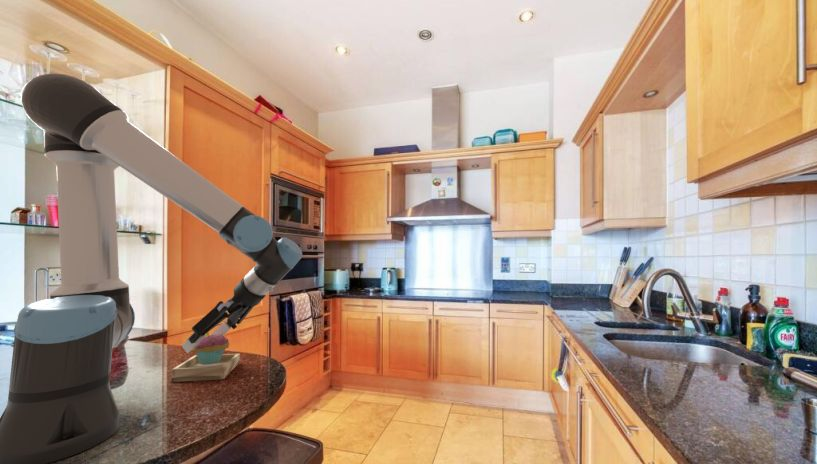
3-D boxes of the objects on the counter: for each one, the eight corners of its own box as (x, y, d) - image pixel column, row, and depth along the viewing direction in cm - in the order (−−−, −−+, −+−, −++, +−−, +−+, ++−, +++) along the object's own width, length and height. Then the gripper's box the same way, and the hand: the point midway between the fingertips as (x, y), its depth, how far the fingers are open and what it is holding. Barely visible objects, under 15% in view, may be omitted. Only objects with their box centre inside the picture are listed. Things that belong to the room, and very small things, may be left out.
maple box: (223, 379, 81) (224, 367, 82) (170, 381, 79) (171, 369, 80) (239, 364, 93) (240, 353, 94) (194, 366, 91) (194, 355, 91)
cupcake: (201, 368, 81) (205, 320, 82) (184, 363, 85) (188, 317, 87) (234, 360, 88) (237, 316, 90) (217, 356, 93) (220, 313, 94)
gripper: (236, 301, 75) (172, 368, 77) (285, 292, 96) (234, 345, 97) (217, 278, 77) (155, 344, 78) (269, 274, 97) (220, 326, 99)
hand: (199, 344), depth 88 cm, fingers closed on cupcake, 8 cm apart
